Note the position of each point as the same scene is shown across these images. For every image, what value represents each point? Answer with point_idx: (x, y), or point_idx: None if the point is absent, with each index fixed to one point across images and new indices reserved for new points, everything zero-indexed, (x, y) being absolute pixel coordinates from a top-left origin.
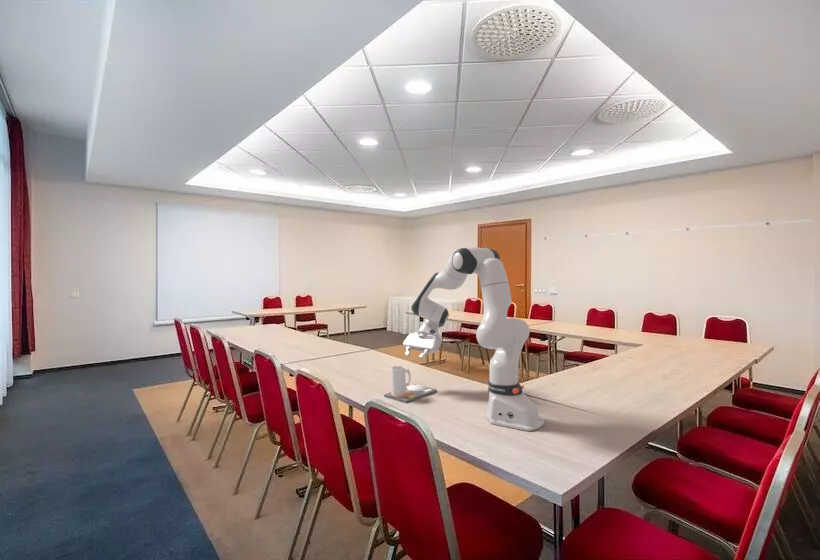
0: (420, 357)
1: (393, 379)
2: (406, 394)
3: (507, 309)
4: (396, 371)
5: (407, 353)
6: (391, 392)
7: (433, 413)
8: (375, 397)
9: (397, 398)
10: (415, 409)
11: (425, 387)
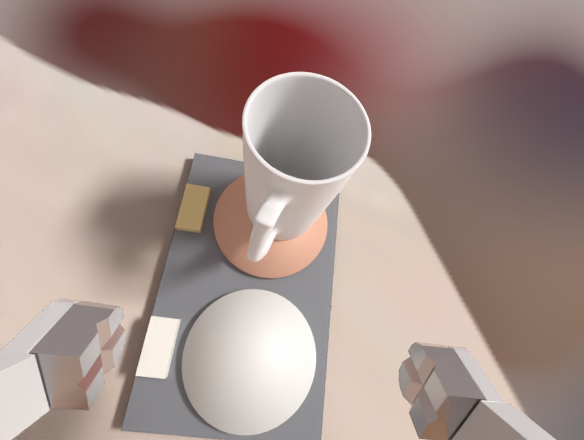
0: (103, 307)
1: (298, 127)
2: (235, 212)
3: None
4: (281, 86)
5: (429, 356)
6: None
7: (14, 107)
8: None
9: None
10: (116, 114)
11: (203, 396)
